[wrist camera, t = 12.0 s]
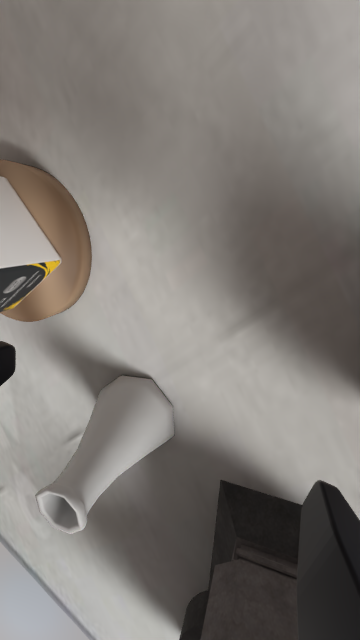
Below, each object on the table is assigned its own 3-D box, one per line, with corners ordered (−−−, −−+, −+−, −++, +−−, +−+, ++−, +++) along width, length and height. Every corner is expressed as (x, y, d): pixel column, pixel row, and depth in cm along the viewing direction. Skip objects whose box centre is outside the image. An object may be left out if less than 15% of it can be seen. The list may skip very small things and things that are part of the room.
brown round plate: (57, 138, 20) (35, 129, 18) (111, 300, 22) (96, 306, 21) (-45, 195, 24) (-71, 193, 23) (10, 324, 27) (-10, 331, 25)
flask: (91, 380, 26) (-11, 463, 17) (158, 366, 23) (79, 456, 14) (121, 446, 27) (42, 556, 18) (188, 441, 24) (133, 567, 15)
